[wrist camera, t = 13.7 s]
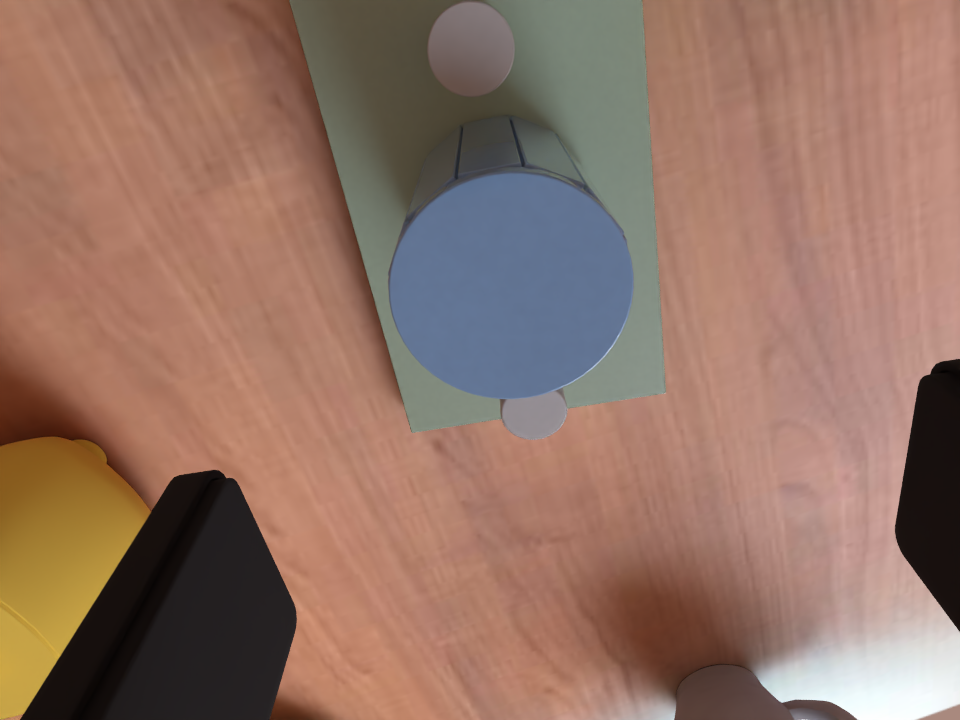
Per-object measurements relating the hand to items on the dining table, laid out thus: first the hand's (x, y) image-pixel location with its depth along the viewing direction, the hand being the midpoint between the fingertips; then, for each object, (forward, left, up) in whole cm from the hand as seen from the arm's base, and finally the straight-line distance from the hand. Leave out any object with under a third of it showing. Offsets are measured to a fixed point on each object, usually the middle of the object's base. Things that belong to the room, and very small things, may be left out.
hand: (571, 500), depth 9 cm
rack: (+1, -1, -20) cm, 20 cm away
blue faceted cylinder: (+1, -1, -19) cm, 19 cm away
